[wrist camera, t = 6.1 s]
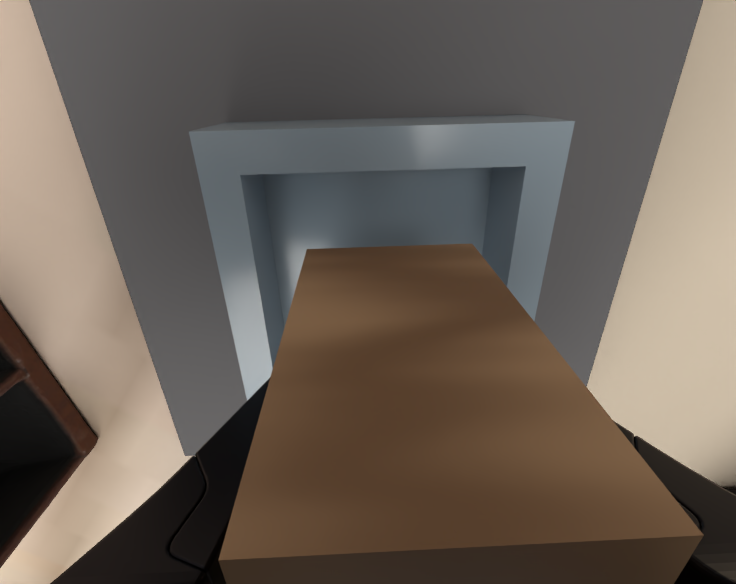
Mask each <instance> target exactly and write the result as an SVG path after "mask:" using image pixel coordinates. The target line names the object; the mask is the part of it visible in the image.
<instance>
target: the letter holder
mask: <svg viewBox="0 0 736 584" xmlns="http://www.w3.org/2000/svg"><path fill="white" fill-rule="evenodd" d="M97 440H98V438H97V437H96V435H95V434H94V433H93V432H92V431H91V429H90V428H89V427H88V425H87V424H86V423H85V421H84V420H83V418H82V417H81V415H80V414H79V413H78V411H77V410H76V408H75V407H74V406H73V404H72V403H71V401H70V400H69V399H68V397H67V396H66V394H65V393H64V392H63V390H62V389H61V387H60V386H59V384H58V383H57V381H56V380H55V379H54V377H53V376H52V375H51V373H50V372H49V371H48V369H47V368H46V366H45V365H44V364H43V362H42V361H41V359H40V358H39V356H38V355H37V354H36V352H35V351H34V349H33V348H32V346H31V345H30V344H29V342H28V341H27V339H26V338H25V337H24V336H23V334H22V333H21V331H20V330H19V328H18V327H17V325H16V324H15V323H14V321H13V320H12V319H11V317H10V316H9V315H8V313H7V312H6V311H5V309H4V308H3V306H2V305H1V303H0V568H1V566H2V565H3V564H4V563H5V561H6V560H7V559H8V557H9V556H10V555H11V554H12V552H13V551H14V550H15V548H16V547H17V546H18V544H19V543H20V542H21V540H22V539H23V538H24V537H25V535H26V534H27V533H28V532H29V530H30V529H31V528H32V526H33V525H34V524H35V522H36V521H37V520H38V518H39V517H40V516H41V515H42V513H43V512H44V511H45V510H46V508H47V507H48V506H49V505H50V503H51V502H52V500H53V499H54V498H55V497H56V495H57V494H58V492H59V491H60V489H61V488H62V487H63V486H64V484H65V483H66V482H67V481H68V479H69V478H70V476H71V475H72V474H73V473H74V471H75V470H76V469H77V467H78V466H79V465H80V464H81V462H82V461H83V460H84V458H85V457H86V456H87V455H88V454H89V453H90V452H91V450H92V449H93V448H94V446H95V445H96V443H97Z"/></svg>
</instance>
